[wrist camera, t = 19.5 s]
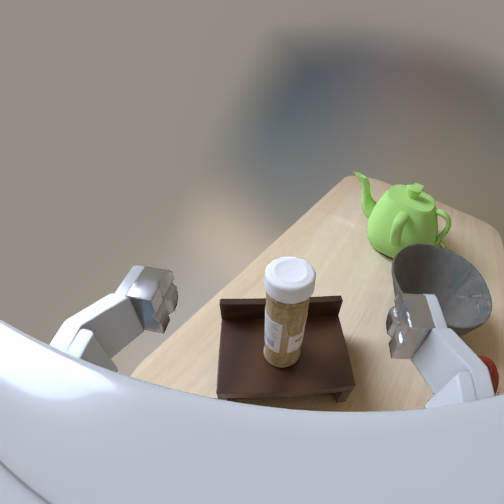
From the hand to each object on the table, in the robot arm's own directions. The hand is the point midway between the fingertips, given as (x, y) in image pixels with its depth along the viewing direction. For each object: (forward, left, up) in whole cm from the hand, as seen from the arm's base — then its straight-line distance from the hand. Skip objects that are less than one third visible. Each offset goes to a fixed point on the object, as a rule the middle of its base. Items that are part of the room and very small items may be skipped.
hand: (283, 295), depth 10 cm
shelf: (0, +13, -28) cm, 30 cm away
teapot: (+23, +47, -28) cm, 59 cm away
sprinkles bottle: (0, +12, -23) cm, 26 cm away
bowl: (+24, +23, -28) cm, 43 cm away
